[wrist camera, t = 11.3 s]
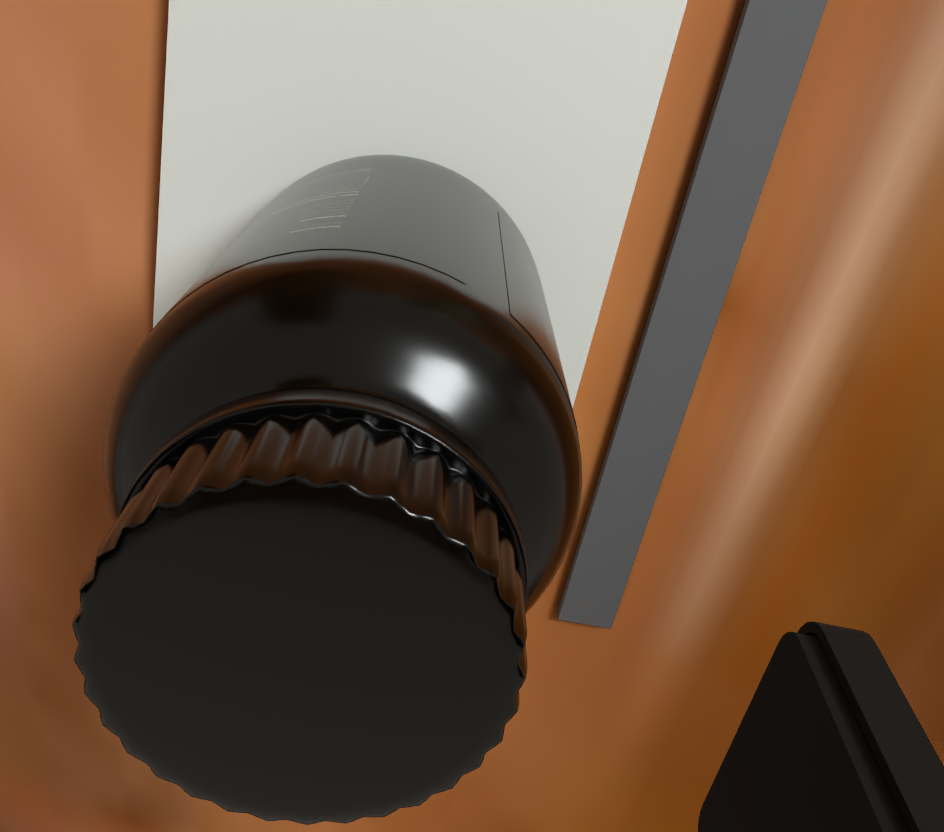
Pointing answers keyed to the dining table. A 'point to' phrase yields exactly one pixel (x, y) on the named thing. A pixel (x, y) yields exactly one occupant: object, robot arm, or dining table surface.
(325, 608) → the supplement bottle
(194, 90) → the white tile with strip
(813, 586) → the dining table surface
